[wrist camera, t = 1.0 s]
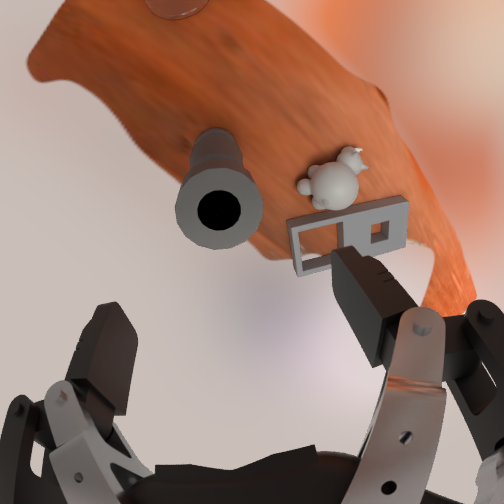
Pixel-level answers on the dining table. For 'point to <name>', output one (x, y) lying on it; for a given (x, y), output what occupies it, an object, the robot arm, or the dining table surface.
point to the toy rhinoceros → (334, 181)
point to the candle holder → (218, 194)
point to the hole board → (354, 230)
